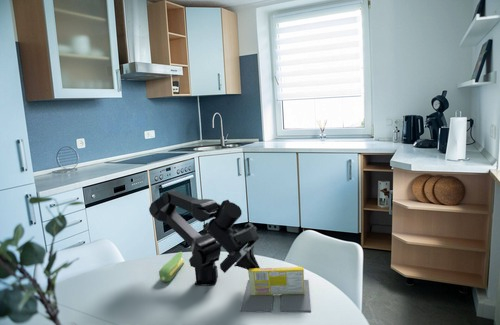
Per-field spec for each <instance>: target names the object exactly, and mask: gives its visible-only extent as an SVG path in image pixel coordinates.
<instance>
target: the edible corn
mask: <svg viewBox="0 0 500 325" xmlns="http://www.w3.org/2000/svg"><path fill="white" fill-rule="evenodd" d="M184 264H185V262H184V259H183V252H182V251H179V252H177V253H176V254H175V255H174V256H173V257H172V258H171V259H170V260H169V261H168V262H166V263H165V264H164V265H163V266H162V267H161V268H160V269H159V271H158V276H159V279H160V281H161V282H162V283H163V282H164V283H170V281H172V280H173V278H174V277H175V276H176V275H177V273H178V272H179V270H180V269H181V267H182V266H183V265H184Z"/></svg>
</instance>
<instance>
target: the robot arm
mask: <svg viewBox="0 0 500 325" xmlns="http://www.w3.org/2000/svg"><path fill="white" fill-rule="evenodd" d="M177 208H180V209H182V210H184V211H186V212H189V213H190V214H191V216H192V218H194V219H195V220H197V221H198V222H200V223H202V222H205V221H208V220H209V221H208V222H205V223H204V224H203V225H202V228H203V229H202V232H203V235H201V234H200V232H198V230H196V229H195V228H194V227H193V225H191V224H189V222H187V221H186V219H185V218H183V217H182V216H181V215H180V214H179V213H178V212H177ZM148 211H149V214H150V216H151V217H152V218H154V219H155V220H157V221H158V222H163V223H166V224H167V225H168V226H169V227H170V228H171V229H172V230H174V232H175V233H176V234H178V236H179V237H180V238H182V240H184V242H186V243H187V244H188V246H190V249H191V256H190V258H189V259H188V262H189V265H190V267H193V268H194V271H195V272H194V273H195V282H194V285H195V286H215V284H216V282H217V280H218V278H219V272H218V266H217V265H216V262H217V261H220V255H221V252H222V250H221V248H223V249H224V250H225V251H226V253H228V254H227V256H226V257H225V259H223V261H222V262H220V263H219V269H220V270H221V271H222V272H223V273H224V274H225V273H227V272H228V270H229V269H230V268H231V267H238V268H241V269H244V270H247V271H249V268H261V266H260V265H259V263H258V261H257V259H256V257H255V255H254V249H255V245H254V244H255V243H256V242H257V241H258V240H259V239H260V237H259V236H258V235H259V234H258V232H257V230H258V228H257V227H256V226H255V225H254V224H253V223H251V222H248V223H246V224H245V225H244V228H243V229H242V230H240V231H239V230H238V229H237V228H234V229H232V227H233V226H234V225H235V223H236V222H237V221H238V220H239V219H240V218H241V216H242V214H243V213H242V209H241V207H240V206H239V205H237V204H236V203H234V202H231V201H230V200H229V199H226V200H223V201H222V202H221V203H217V201H216V200H214V199H210V198H202V199H201V198H195V197H193V196H190V195H188V194H185V193H183V192H180V191H179V190H178V189H172V190H168V191H165V192H164V193H163V194H162V195H161V196H160V197H158V198H157V199H155V200H154V201H153V202H151V204H150V205H149V208H148Z"/></svg>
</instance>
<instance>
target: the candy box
mask: <svg viewBox="0 0 500 325" xmlns="http://www.w3.org/2000/svg"><path fill="white" fill-rule="evenodd" d="M247 271H248V272H247V273H248V280H249V283H250V294H251V295H273V296H275V295H277V296H278V295H279V296H280V295H281V296H282V295H285V294H305V288H304V280H305V278H304V277H305V276H304V275H305V272H304V267H303V266H296V267H295V266H294V267H293V266H290V267H288V266H287V267H262V268H261V267H260V268H249V270H247Z"/></svg>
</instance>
